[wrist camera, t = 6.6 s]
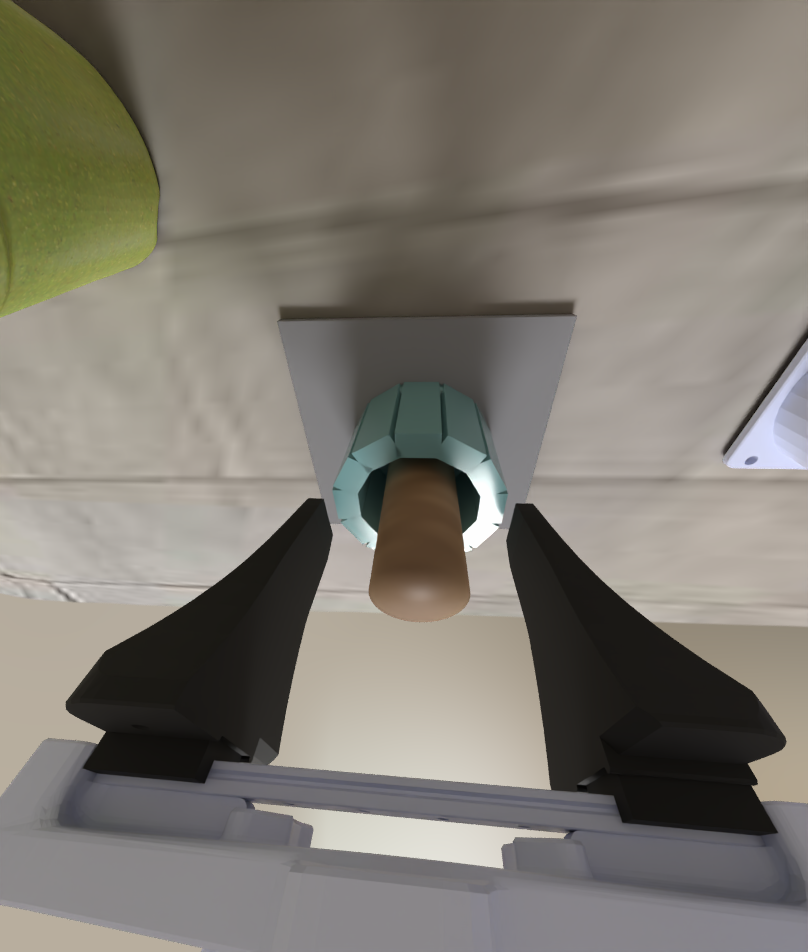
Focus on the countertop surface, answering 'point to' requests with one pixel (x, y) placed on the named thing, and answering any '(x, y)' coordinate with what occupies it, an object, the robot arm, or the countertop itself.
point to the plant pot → (65, 170)
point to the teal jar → (421, 436)
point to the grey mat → (428, 380)
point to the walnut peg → (420, 544)
